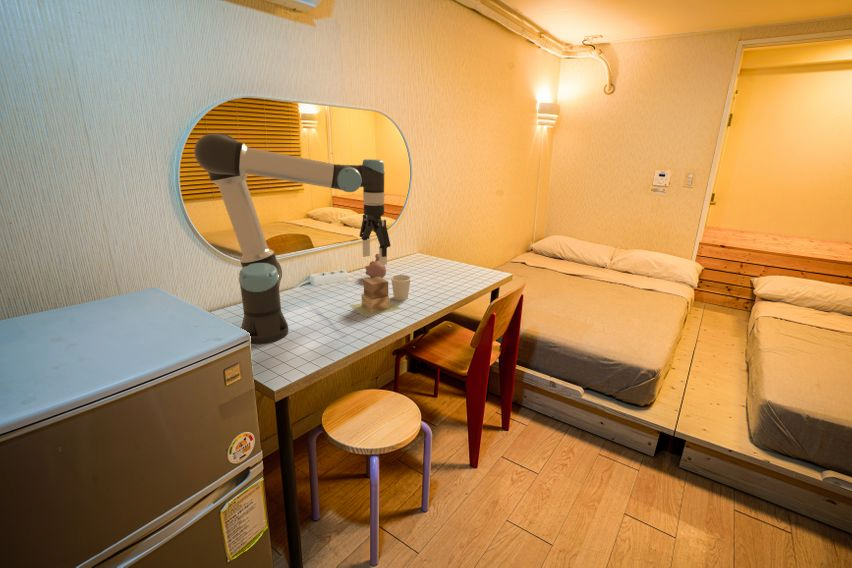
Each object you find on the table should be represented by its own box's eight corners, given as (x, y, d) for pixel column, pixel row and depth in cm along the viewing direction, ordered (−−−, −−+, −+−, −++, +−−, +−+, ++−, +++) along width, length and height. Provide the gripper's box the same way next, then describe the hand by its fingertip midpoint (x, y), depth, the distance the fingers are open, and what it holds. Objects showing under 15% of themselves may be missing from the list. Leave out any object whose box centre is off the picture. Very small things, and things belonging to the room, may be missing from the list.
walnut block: (372, 299, 156) (371, 284, 154) (363, 293, 162) (363, 279, 160) (388, 296, 160) (388, 281, 158) (379, 290, 165) (379, 276, 164)
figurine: (371, 274, 206) (371, 251, 202) (389, 278, 201) (389, 254, 197) (360, 279, 199) (359, 255, 195) (379, 283, 193) (378, 258, 190)
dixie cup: (392, 304, 169) (392, 281, 165) (389, 297, 176) (389, 275, 173) (412, 303, 170) (412, 280, 167) (409, 296, 178) (409, 274, 175)
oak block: (371, 312, 157) (370, 300, 155) (361, 305, 163) (361, 293, 162) (389, 308, 161) (389, 296, 160) (379, 302, 168) (379, 290, 166)
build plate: (364, 319, 153) (364, 316, 153) (349, 308, 163) (349, 305, 163) (401, 311, 162) (401, 308, 162) (385, 301, 172) (385, 298, 172)
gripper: (400, 208, 142) (399, 267, 148) (367, 199, 161) (368, 252, 168) (381, 209, 138) (381, 270, 144) (350, 200, 157) (351, 254, 164)
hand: (374, 260), depth 156 cm, fingers open, 13 cm apart
